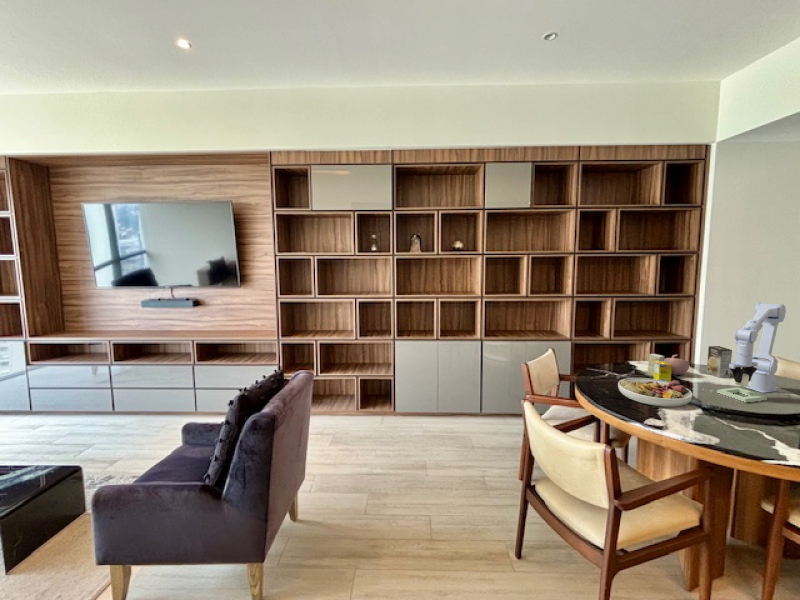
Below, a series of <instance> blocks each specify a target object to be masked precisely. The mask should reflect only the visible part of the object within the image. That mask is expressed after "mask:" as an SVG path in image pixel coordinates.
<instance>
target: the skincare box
mask: <svg viewBox="0 0 800 600" xmlns="http://www.w3.org/2000/svg"><path fill="white" fill-rule="evenodd" d="M664 359H665V355H661V354H657V353H649V354H648V363H647V366H648V367H647V375H649V376H652V377H654V362H655V361H660V362H664Z"/></svg>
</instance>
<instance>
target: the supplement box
mask: <svg viewBox="0 0 800 600" xmlns="http://www.w3.org/2000/svg"><path fill="white" fill-rule="evenodd" d="M671 366H672V365H671V364H669V363H668V362H660V361H655V362H654V376H653V379H656V380H662V381H667V382H671V381H672V373H671Z"/></svg>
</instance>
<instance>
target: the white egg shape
mask: <svg viewBox="0 0 800 600" xmlns="http://www.w3.org/2000/svg"><path fill="white" fill-rule="evenodd" d="M734 382H735V381H734ZM749 383H750V381H749V375H747V374H743V376H742V381H741V383H738V382H735V385H736V386H739V387H747V386H749Z"/></svg>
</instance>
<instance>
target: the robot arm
mask: <svg viewBox="0 0 800 600" xmlns="http://www.w3.org/2000/svg"><path fill="white" fill-rule="evenodd" d="M754 312H755V314H754V316H753V318H752V319H749V320H748V321H746V323H745V324H744V325H743V327H742V328H739V329H737V330H735V334H734V339H735V344H736V350H735V351H736V353H735V360H733V362H731V364H729V368H730V372H731V373H732V375H733V378H734V382H738V383H741V381H742V376H743V374H747V375H749V382H750V385H748V386H745V389H750V390H751V391H752V390H753V391H756V392H760V393H763V394H764V393H765V394H766V393H772V392H773V393H774V392H778V389H777V379H778V378H777V376H776V375H775V373H776V372H777V371H778V368H779V367H778V364H779V363H778V362H779V361H778V359H777V358H776V357H775V356H773V355H772V353H773V349H774V344H775V339H776V335H777V331H778V327H779V323H782V322H784V321H785V318H786V312H787V308H786V305H785V304H783V303H781V304H778V303H769V302H768V303H766V302H758V303H757V304H756V305H755V307H754ZM763 323H764V324H763ZM761 329H762V332H761V337H760V341H759V345H758V346H759V347H758V349H757V352H756V353H754V345H755V344H754V343H755V342H756V341H757V338H758V336H759V333H760V331H761Z"/></svg>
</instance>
